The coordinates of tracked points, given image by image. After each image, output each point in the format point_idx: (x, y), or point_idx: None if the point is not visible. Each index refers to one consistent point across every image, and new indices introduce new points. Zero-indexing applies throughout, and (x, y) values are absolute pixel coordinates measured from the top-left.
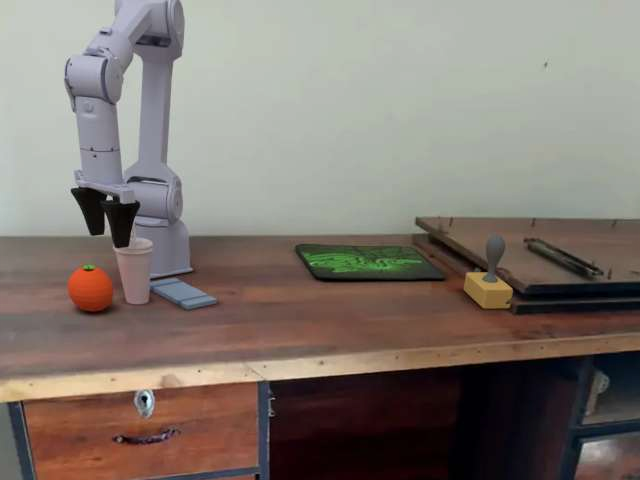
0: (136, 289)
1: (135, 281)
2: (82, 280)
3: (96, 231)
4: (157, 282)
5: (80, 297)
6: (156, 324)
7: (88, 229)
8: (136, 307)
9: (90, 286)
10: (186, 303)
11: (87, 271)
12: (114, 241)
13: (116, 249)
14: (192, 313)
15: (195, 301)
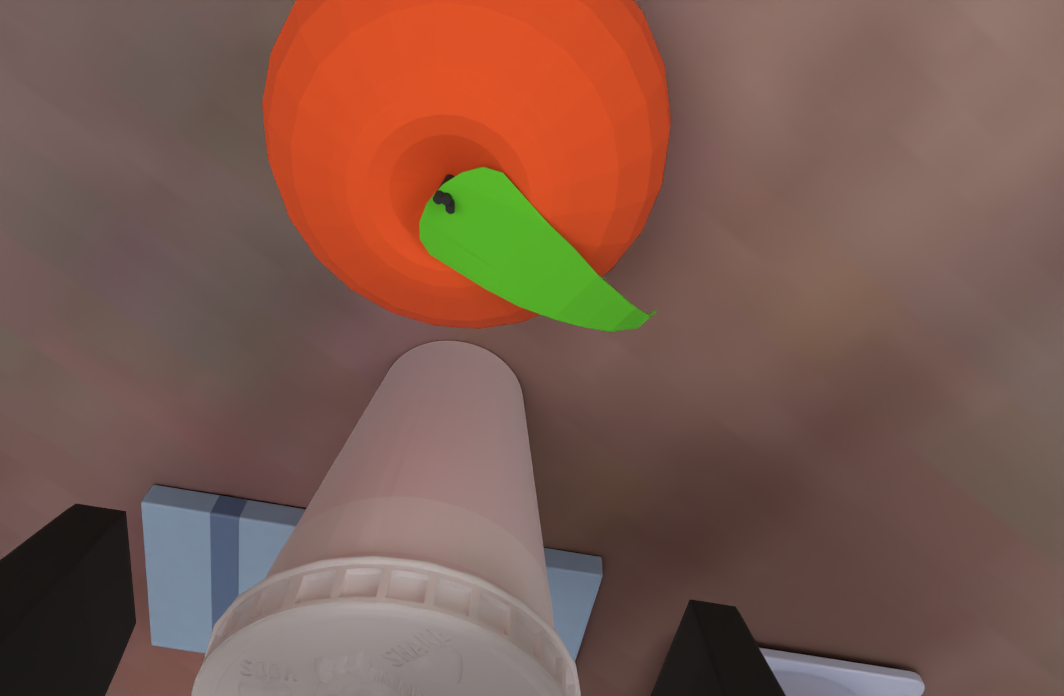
0: (363, 415)
1: (345, 448)
2: (356, 12)
3: (678, 680)
4: (560, 617)
5: None
6: (15, 217)
7: (752, 652)
8: (357, 324)
9: (290, 34)
10: (168, 517)
11: (387, 138)
12: (26, 552)
13: (405, 579)
14: (91, 469)
15: (171, 563)
